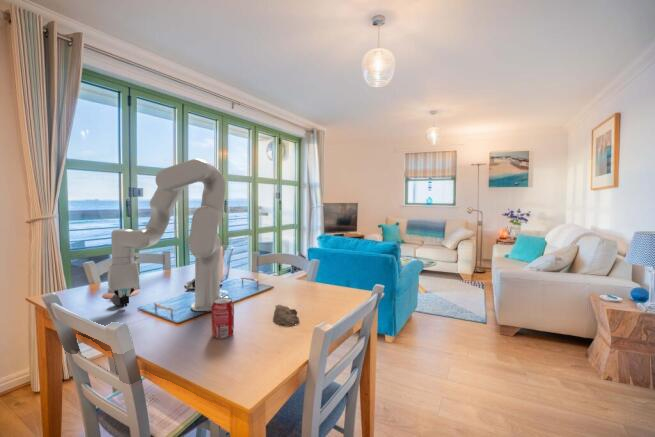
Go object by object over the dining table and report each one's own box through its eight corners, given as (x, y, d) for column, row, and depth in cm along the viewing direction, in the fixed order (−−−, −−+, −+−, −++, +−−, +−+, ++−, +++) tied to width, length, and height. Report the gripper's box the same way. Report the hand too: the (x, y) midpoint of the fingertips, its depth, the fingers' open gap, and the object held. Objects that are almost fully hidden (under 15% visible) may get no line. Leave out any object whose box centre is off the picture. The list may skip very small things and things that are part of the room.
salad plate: (178, 284, 158) (177, 275, 157) (212, 279, 169) (212, 271, 169) (188, 294, 143) (188, 284, 142) (225, 287, 154) (225, 278, 154)
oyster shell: (274, 328, 108) (274, 314, 108) (271, 314, 120) (272, 302, 120) (300, 326, 110) (300, 312, 110) (295, 313, 122) (296, 301, 122)
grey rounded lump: (129, 290, 126) (132, 301, 127) (118, 288, 127) (121, 300, 128) (118, 297, 120) (121, 309, 122) (106, 296, 122) (110, 307, 123)
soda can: (226, 328, 106) (226, 295, 105) (238, 334, 101) (238, 299, 100) (207, 335, 100) (207, 300, 99) (219, 342, 96) (219, 305, 95)
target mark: (144, 289, 147) (144, 288, 147) (129, 298, 133) (129, 298, 133) (113, 289, 145) (113, 288, 145) (95, 299, 131) (95, 298, 131)
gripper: (144, 256, 127) (145, 299, 128) (99, 260, 118) (101, 306, 119) (146, 260, 121) (147, 304, 122) (99, 264, 112) (101, 312, 113)
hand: (124, 305), depth 121 cm, fingers closed
